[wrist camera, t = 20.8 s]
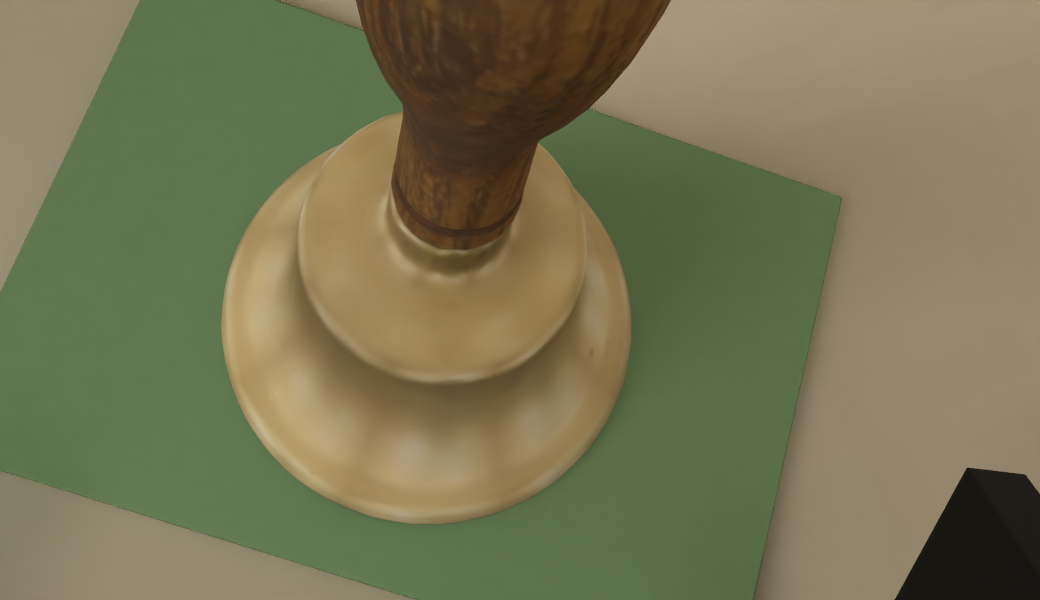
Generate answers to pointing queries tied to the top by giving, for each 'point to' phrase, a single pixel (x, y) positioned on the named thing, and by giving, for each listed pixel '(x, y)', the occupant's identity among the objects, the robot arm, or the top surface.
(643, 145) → the cloth
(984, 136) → the top surface
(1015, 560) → the robot arm
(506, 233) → the hand bell
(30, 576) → the top surface
